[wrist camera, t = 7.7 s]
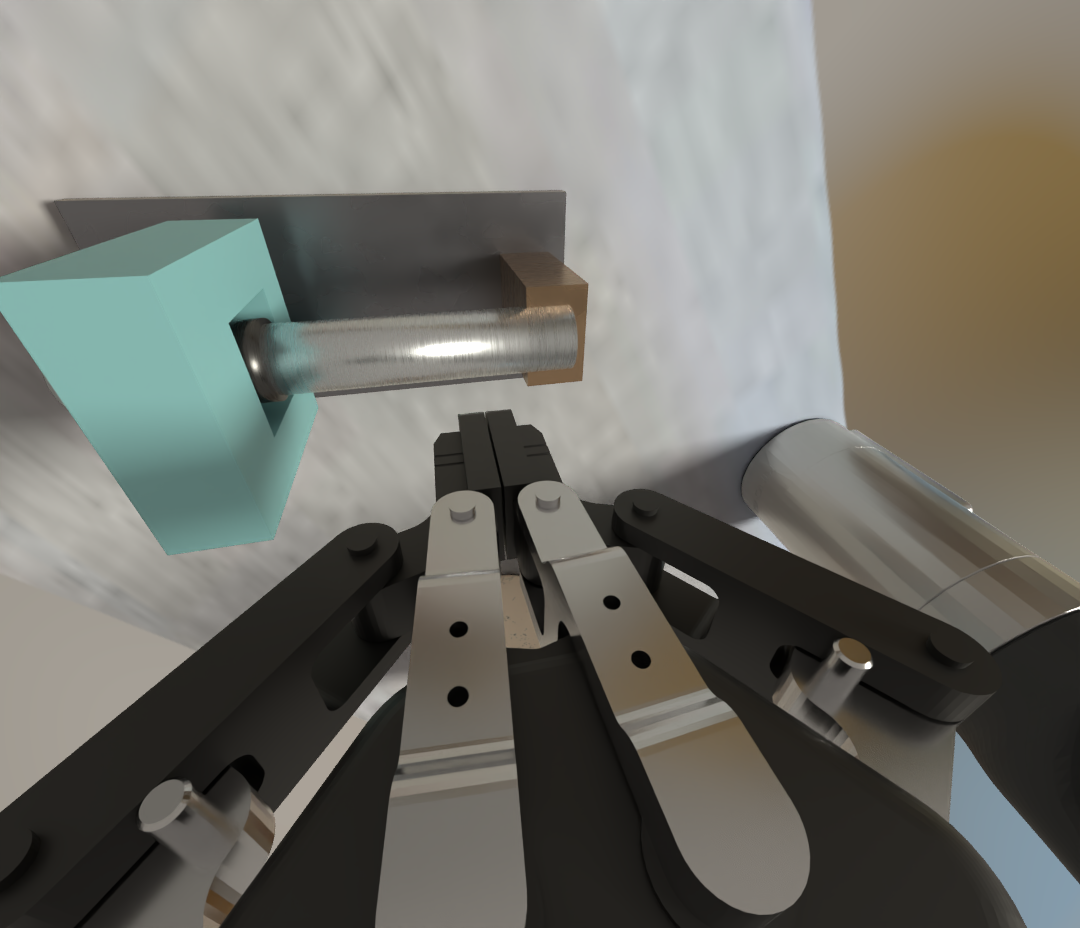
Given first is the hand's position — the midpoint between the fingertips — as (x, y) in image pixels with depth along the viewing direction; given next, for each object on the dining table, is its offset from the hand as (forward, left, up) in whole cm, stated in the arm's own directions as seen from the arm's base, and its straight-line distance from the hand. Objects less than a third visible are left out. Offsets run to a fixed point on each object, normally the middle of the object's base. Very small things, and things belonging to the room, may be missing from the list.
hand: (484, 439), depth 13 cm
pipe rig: (+4, -1, -13) cm, 14 cm away
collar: (+8, -1, -10) cm, 13 cm away
